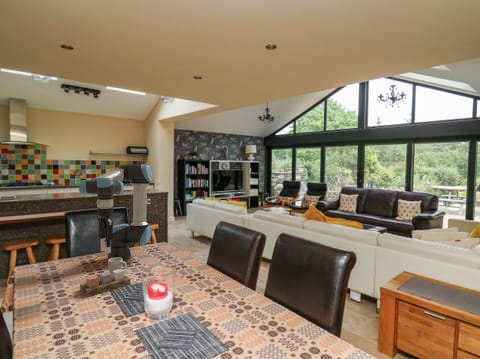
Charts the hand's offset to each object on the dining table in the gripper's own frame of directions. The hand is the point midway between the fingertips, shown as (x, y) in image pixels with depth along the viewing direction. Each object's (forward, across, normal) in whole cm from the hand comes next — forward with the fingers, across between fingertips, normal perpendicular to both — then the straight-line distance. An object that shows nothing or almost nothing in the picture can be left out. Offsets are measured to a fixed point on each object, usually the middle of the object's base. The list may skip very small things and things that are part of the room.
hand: (105, 251), depth 148 cm
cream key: (+16, 0, +7) cm, 17 cm away
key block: (+19, 0, 0) cm, 19 cm away
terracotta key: (+16, 0, -6) cm, 17 cm away
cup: (+19, -16, +13) cm, 28 cm away
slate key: (+16, 0, 0) cm, 16 cm away
